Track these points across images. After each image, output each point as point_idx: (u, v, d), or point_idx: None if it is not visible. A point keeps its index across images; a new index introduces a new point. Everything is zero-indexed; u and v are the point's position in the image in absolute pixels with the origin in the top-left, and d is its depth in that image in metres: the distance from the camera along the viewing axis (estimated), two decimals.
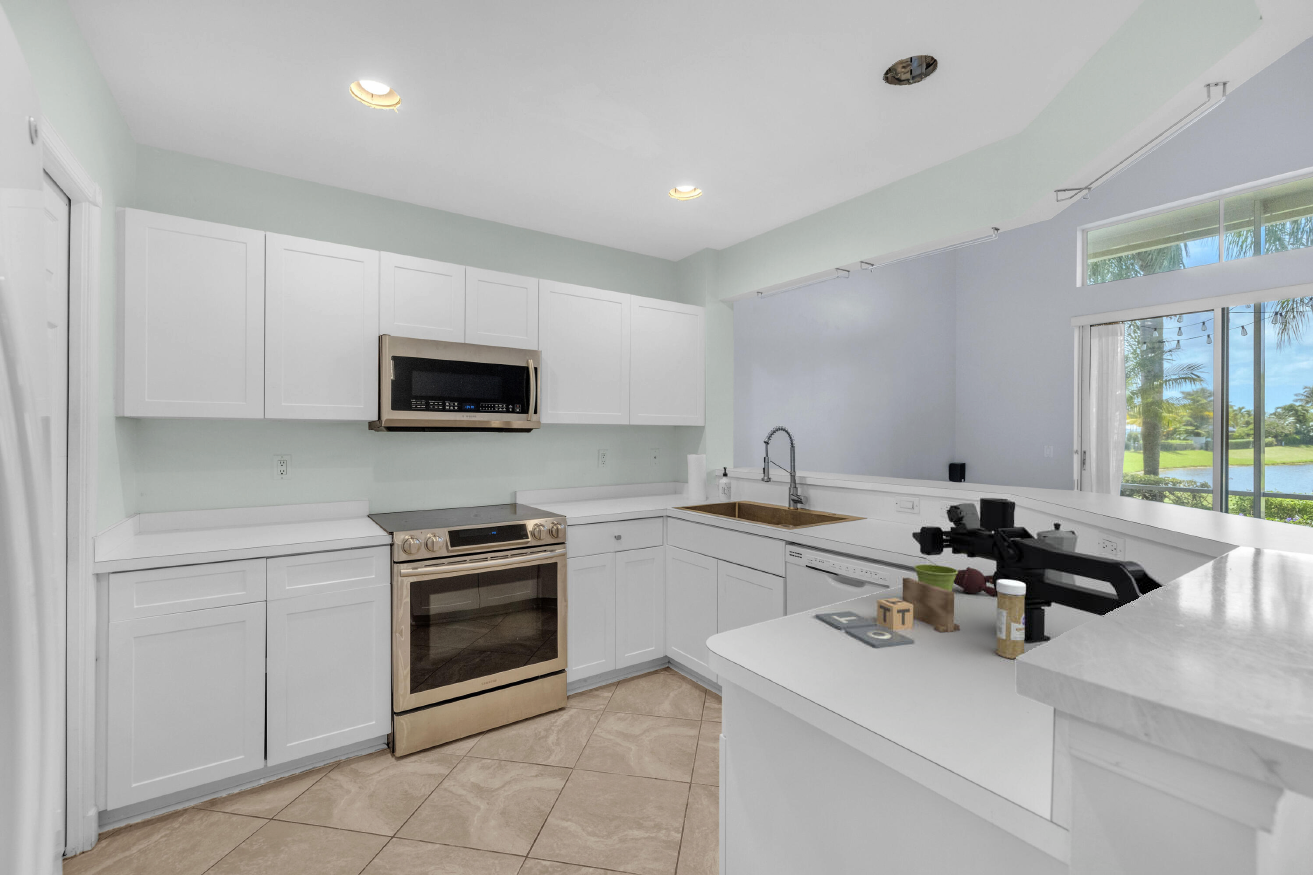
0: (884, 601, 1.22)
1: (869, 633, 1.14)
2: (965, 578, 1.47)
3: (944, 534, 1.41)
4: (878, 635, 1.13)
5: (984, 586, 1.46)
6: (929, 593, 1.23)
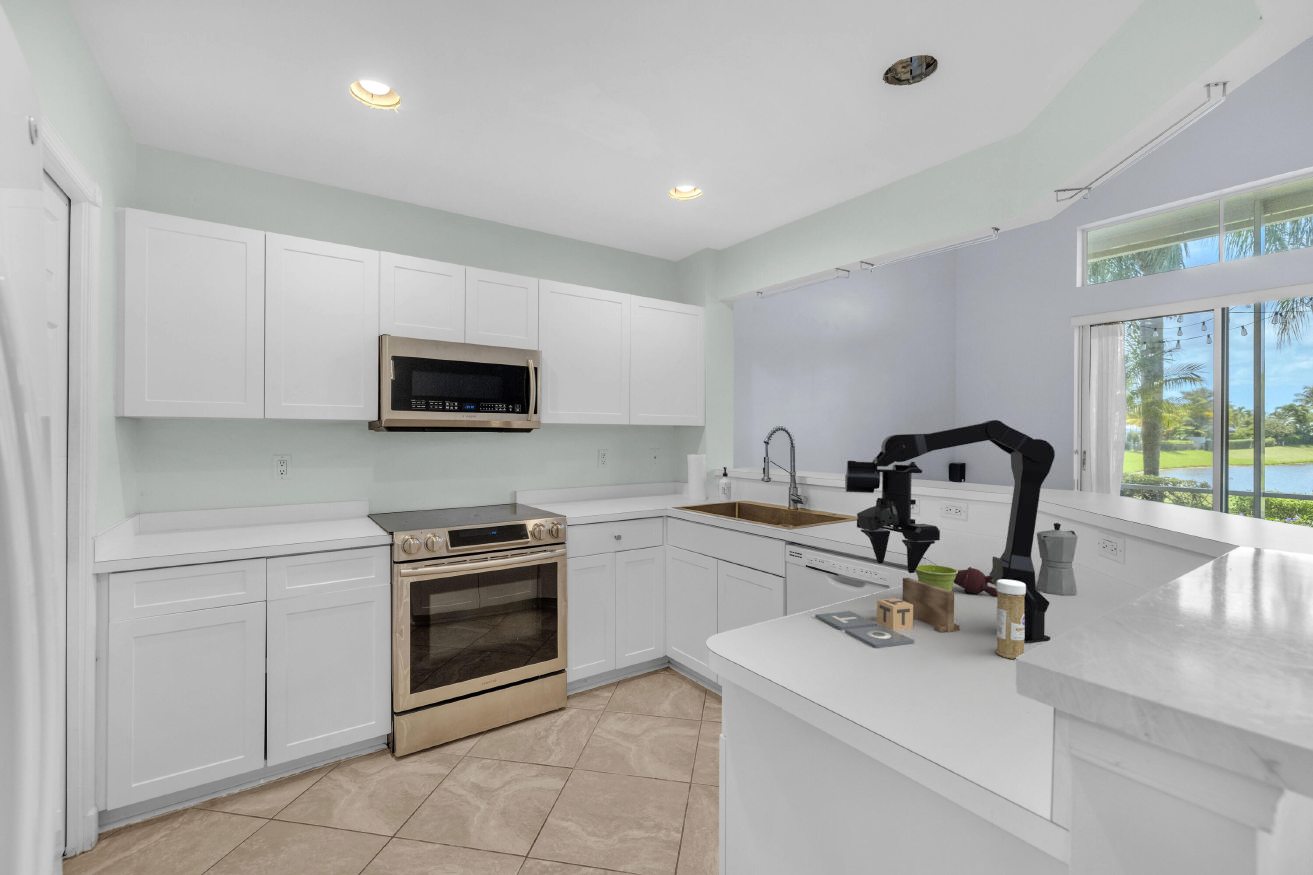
0: (884, 601, 1.22)
1: (869, 633, 1.14)
2: (966, 578, 1.47)
3: (881, 560, 1.26)
4: (878, 635, 1.13)
5: (985, 586, 1.46)
6: (929, 593, 1.23)
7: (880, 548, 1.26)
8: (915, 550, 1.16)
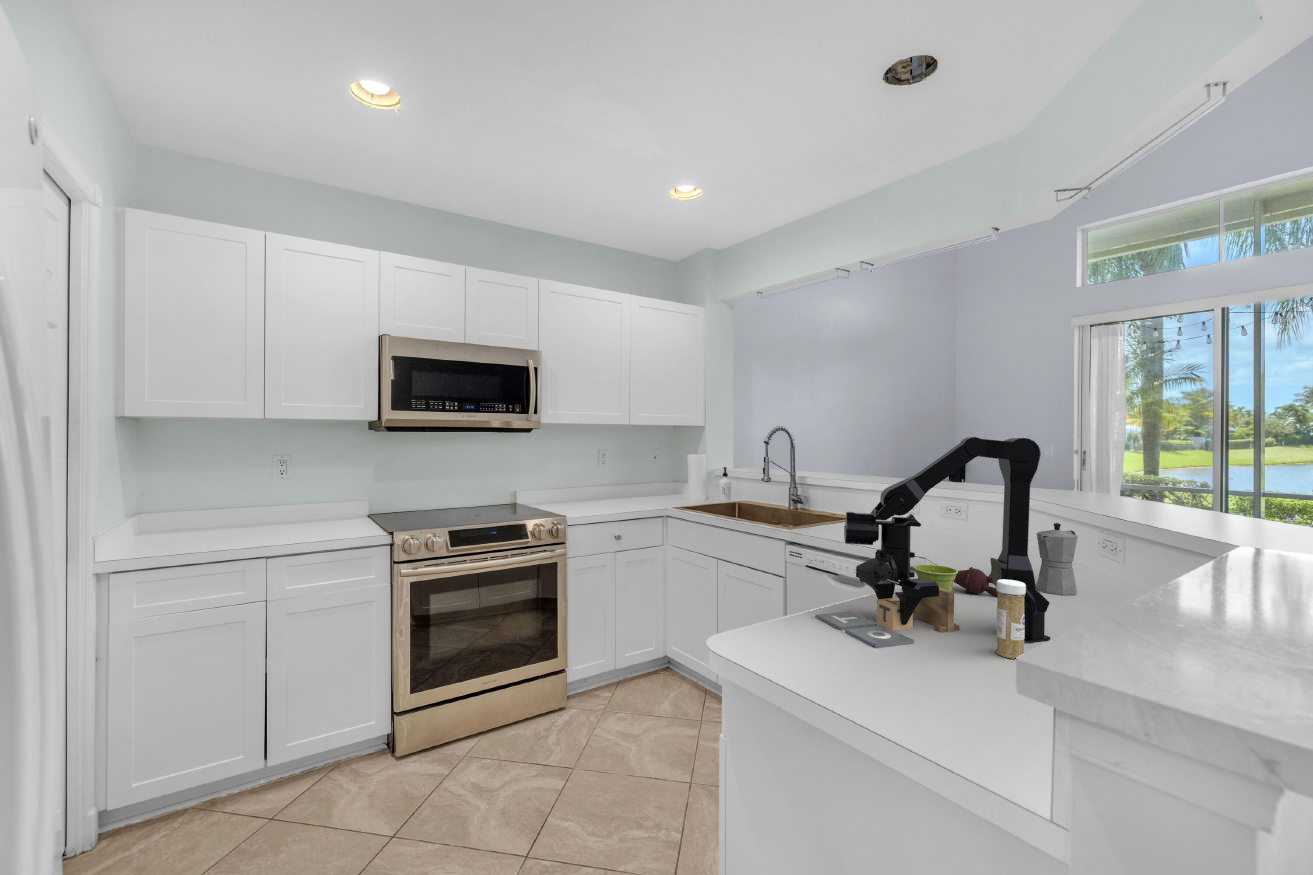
0: (884, 601, 1.22)
1: (869, 633, 1.14)
2: (967, 578, 1.47)
3: None
4: (878, 635, 1.13)
5: (986, 586, 1.46)
6: None
7: None
8: (908, 602, 1.18)
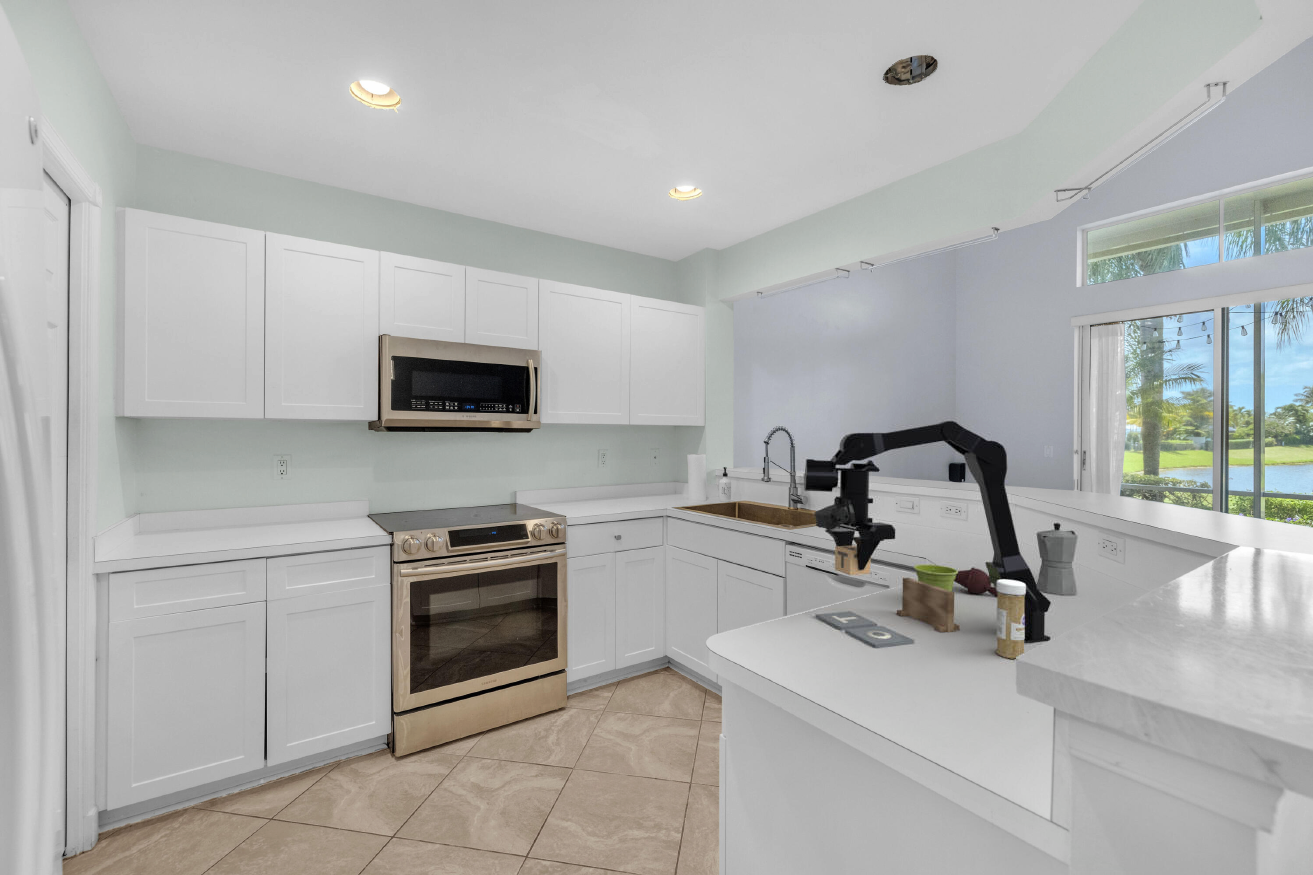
0: (842, 547, 1.22)
1: (869, 633, 1.14)
2: (969, 578, 1.47)
3: None
4: (878, 635, 1.13)
5: (988, 586, 1.45)
6: (929, 593, 1.23)
7: None
8: (865, 547, 1.18)
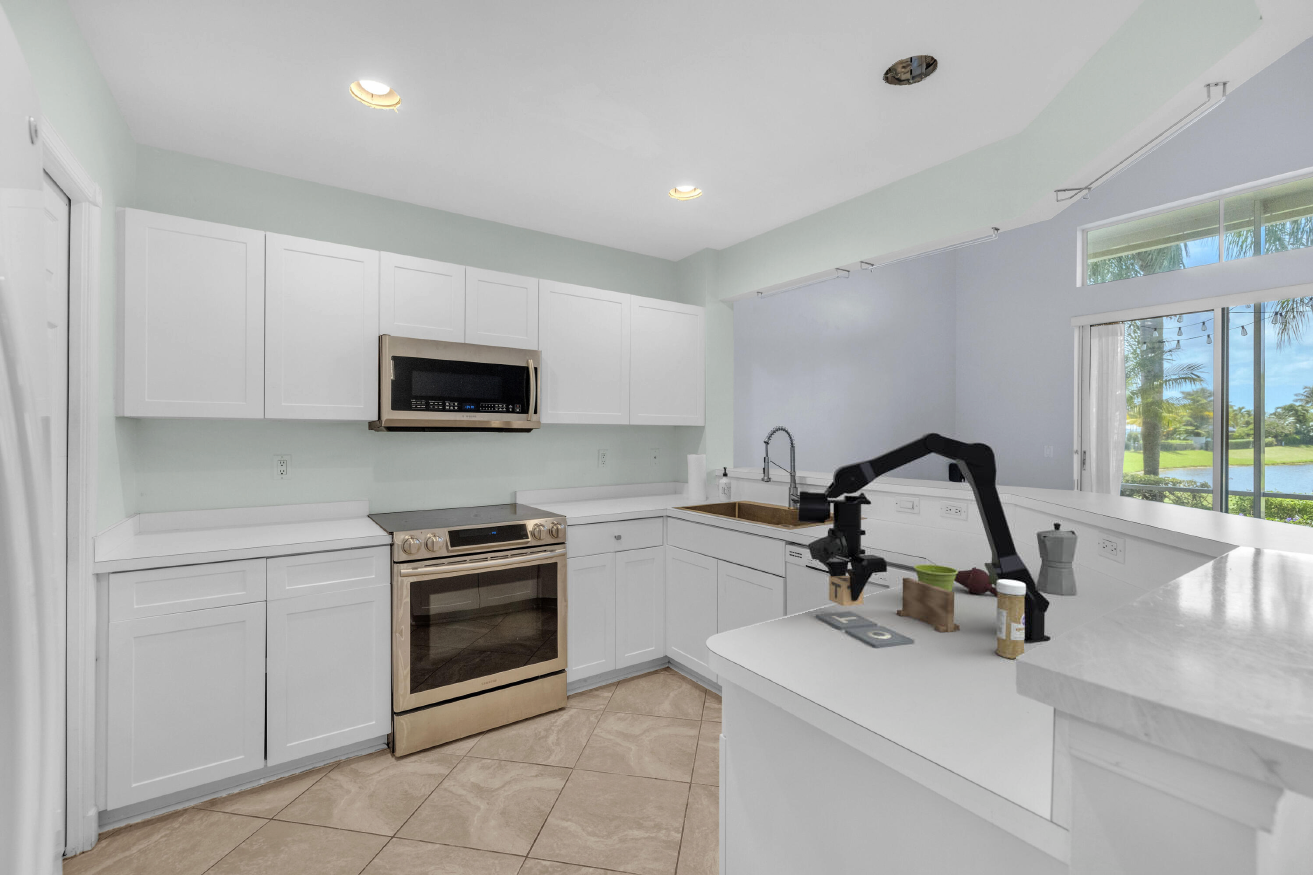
0: (836, 578, 1.24)
1: (869, 633, 1.14)
2: (970, 578, 1.47)
3: None
4: (878, 635, 1.13)
5: (989, 587, 1.45)
6: (929, 593, 1.23)
7: None
8: (858, 579, 1.20)
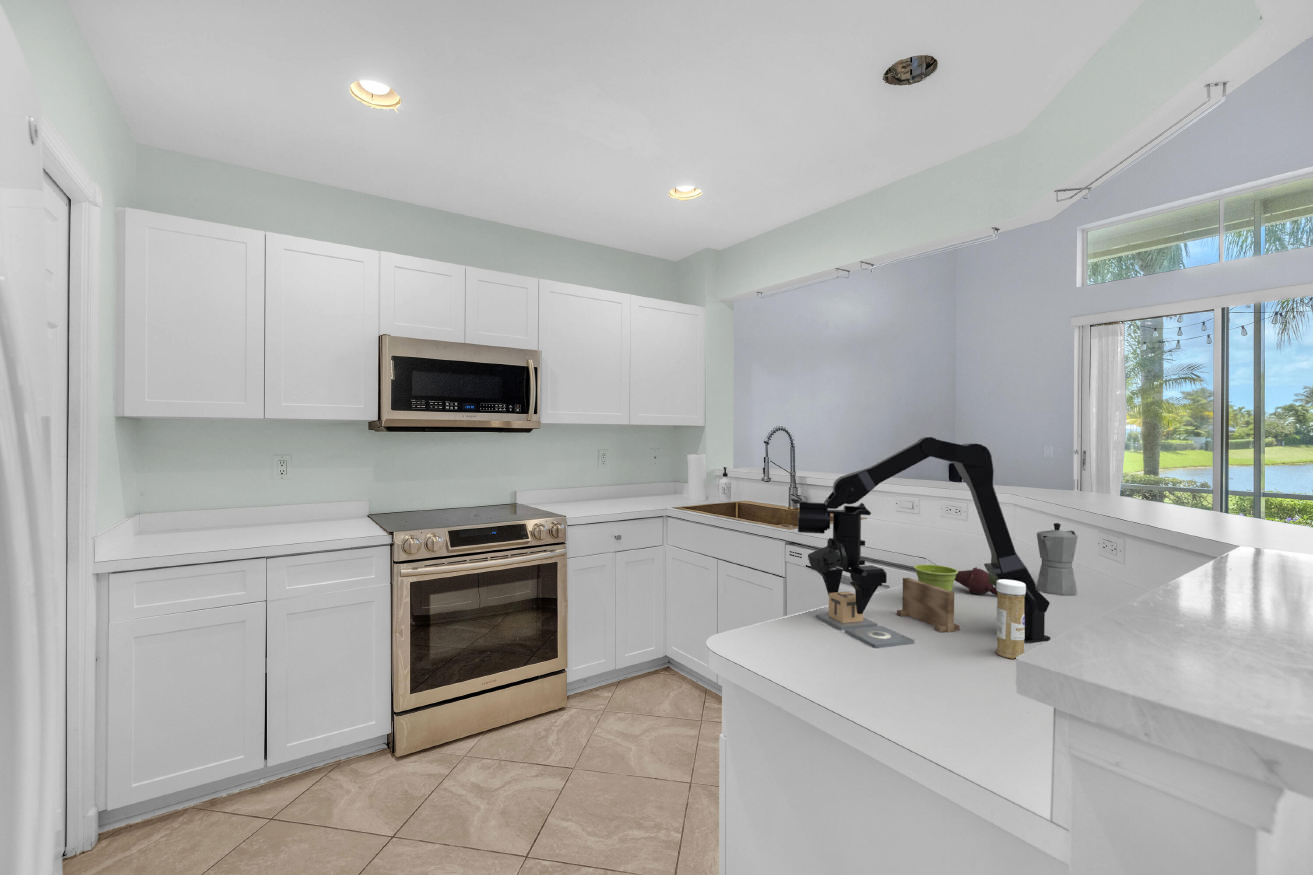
0: (835, 594, 1.24)
1: (869, 633, 1.14)
2: (971, 578, 1.47)
3: None
4: (878, 635, 1.13)
5: (990, 587, 1.45)
6: (929, 593, 1.23)
7: (833, 586, 1.28)
8: (863, 592, 1.18)
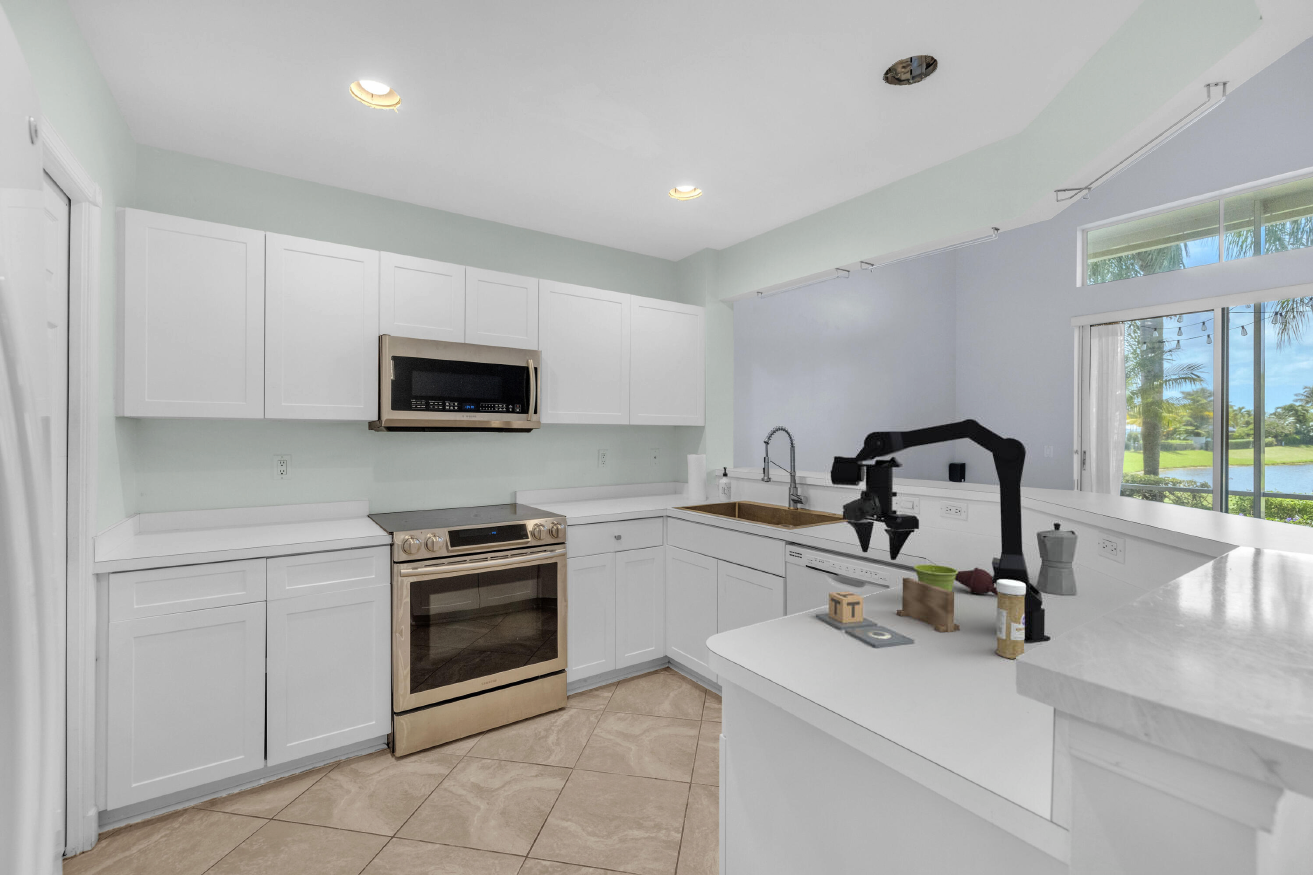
0: (835, 594, 1.24)
1: (869, 633, 1.14)
2: (972, 579, 1.47)
3: (866, 549, 1.35)
4: (878, 635, 1.13)
5: (991, 587, 1.45)
6: (929, 593, 1.23)
7: (865, 537, 1.35)
8: (896, 538, 1.25)
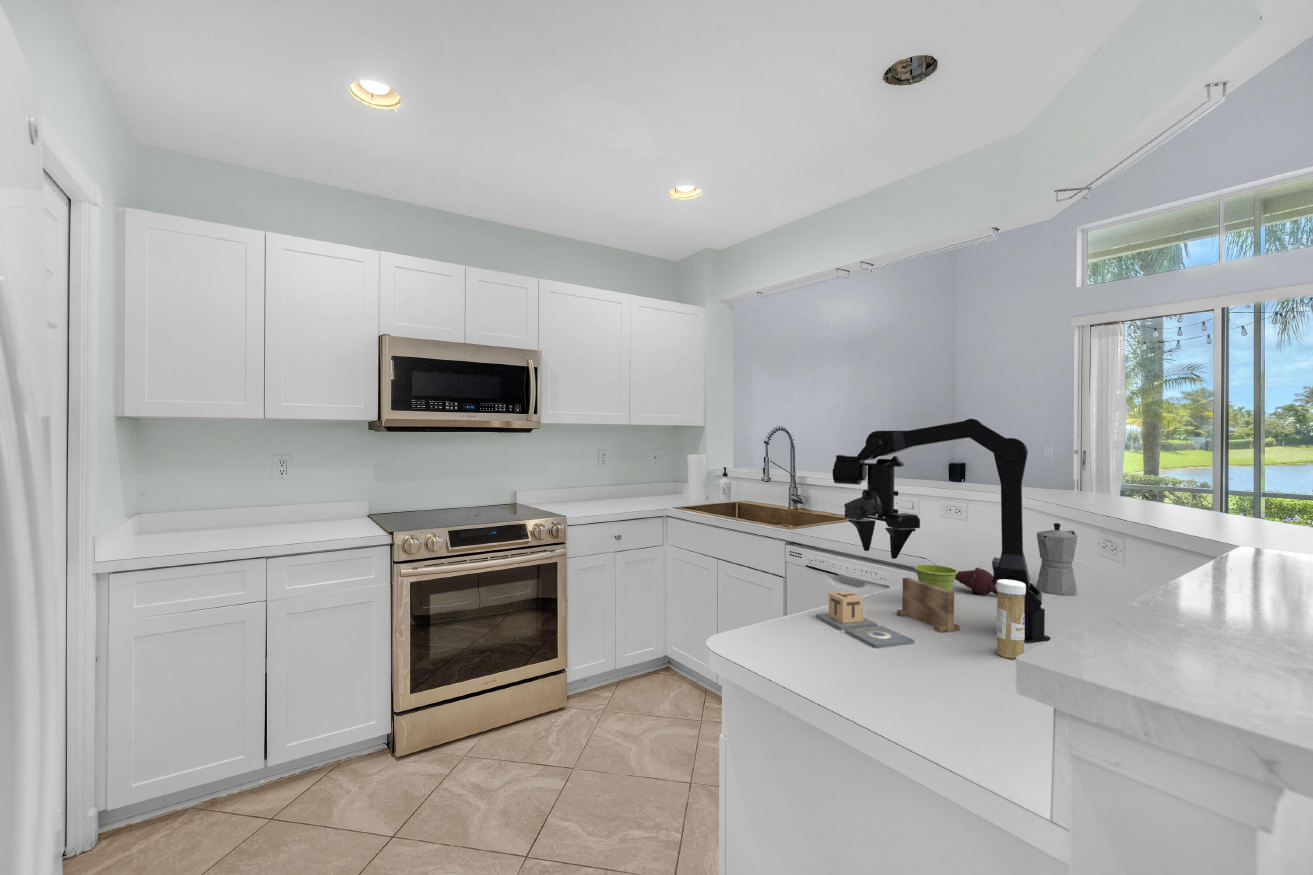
0: (835, 594, 1.24)
1: (869, 633, 1.14)
2: (973, 579, 1.47)
3: (867, 548, 1.36)
4: (878, 635, 1.13)
5: (992, 587, 1.45)
6: (929, 593, 1.23)
7: (866, 536, 1.36)
8: (897, 537, 1.26)
